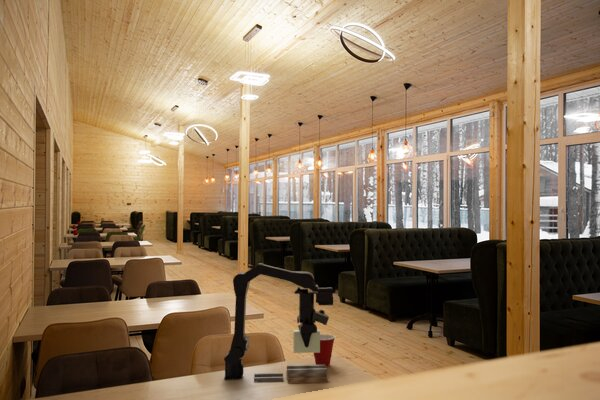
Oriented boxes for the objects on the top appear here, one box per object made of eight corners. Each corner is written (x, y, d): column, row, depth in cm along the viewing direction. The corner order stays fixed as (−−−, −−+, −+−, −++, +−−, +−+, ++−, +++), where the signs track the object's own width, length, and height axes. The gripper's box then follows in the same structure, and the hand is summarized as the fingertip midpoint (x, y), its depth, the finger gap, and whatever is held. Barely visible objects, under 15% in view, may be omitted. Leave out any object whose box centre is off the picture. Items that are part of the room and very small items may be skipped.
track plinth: (287, 382, 167) (287, 372, 167) (286, 373, 177) (286, 363, 177) (327, 381, 168) (327, 371, 168) (324, 372, 178) (324, 362, 178)
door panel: (293, 352, 172) (293, 331, 172) (293, 351, 174) (293, 330, 174) (319, 352, 172) (319, 331, 173) (319, 350, 175) (319, 329, 175)
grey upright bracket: (253, 381, 168) (253, 378, 169) (254, 376, 174) (254, 373, 174) (283, 380, 169) (283, 377, 169) (282, 375, 175) (282, 372, 175)
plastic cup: (328, 359, 195) (328, 331, 196) (340, 367, 185) (340, 337, 186) (305, 362, 191) (305, 333, 192) (316, 370, 181) (316, 340, 182)
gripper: (330, 309, 165) (330, 353, 164) (324, 300, 184) (324, 339, 183) (300, 310, 164) (300, 353, 164) (296, 300, 183) (296, 339, 182)
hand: (306, 346), depth 173 cm, fingers closed on door panel, 2 cm apart
